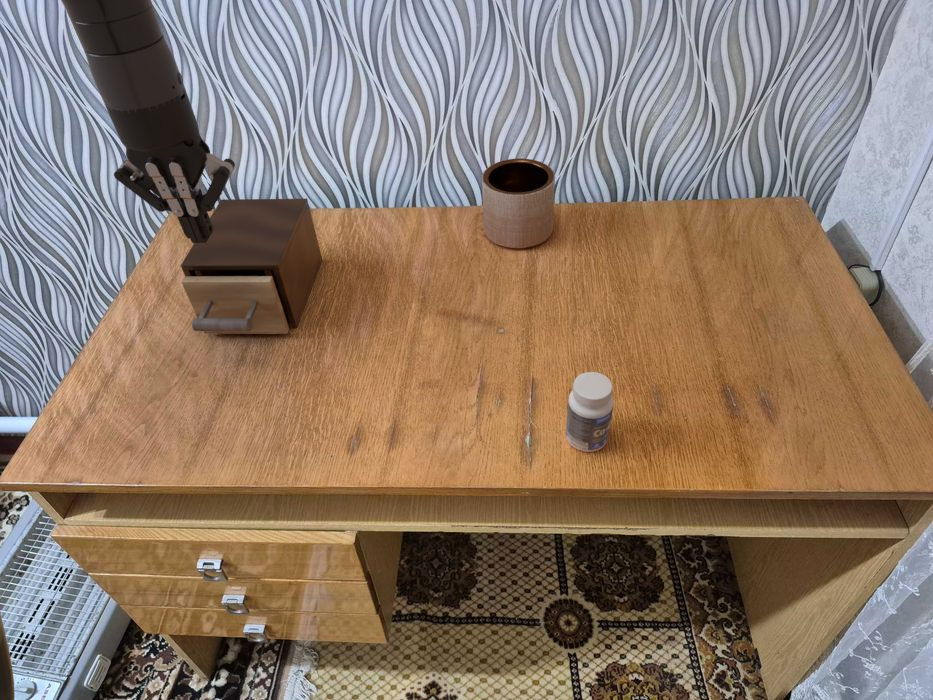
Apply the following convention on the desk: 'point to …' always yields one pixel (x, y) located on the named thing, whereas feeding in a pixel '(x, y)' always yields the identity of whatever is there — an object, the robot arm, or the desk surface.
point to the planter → (518, 202)
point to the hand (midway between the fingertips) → (202, 239)
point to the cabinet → (263, 246)
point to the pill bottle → (589, 412)
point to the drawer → (236, 302)
